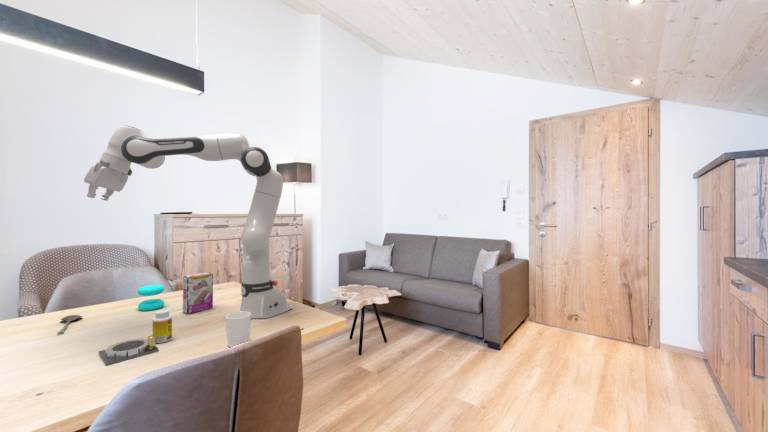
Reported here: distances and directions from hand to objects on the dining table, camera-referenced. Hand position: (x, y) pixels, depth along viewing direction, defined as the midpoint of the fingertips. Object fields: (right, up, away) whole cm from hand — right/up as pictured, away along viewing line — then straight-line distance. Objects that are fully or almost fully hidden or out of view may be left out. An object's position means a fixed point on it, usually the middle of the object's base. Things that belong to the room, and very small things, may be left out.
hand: (97, 198), depth 122 cm
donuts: (0, -49, +28) cm, 57 cm away
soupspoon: (-17, -50, +5) cm, 53 cm away
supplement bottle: (+30, -50, -9) cm, 59 cm away
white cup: (+58, -50, -12) cm, 78 cm away
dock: (+26, -50, -18) cm, 59 cm away
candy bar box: (+24, -49, +25) cm, 60 cm away
